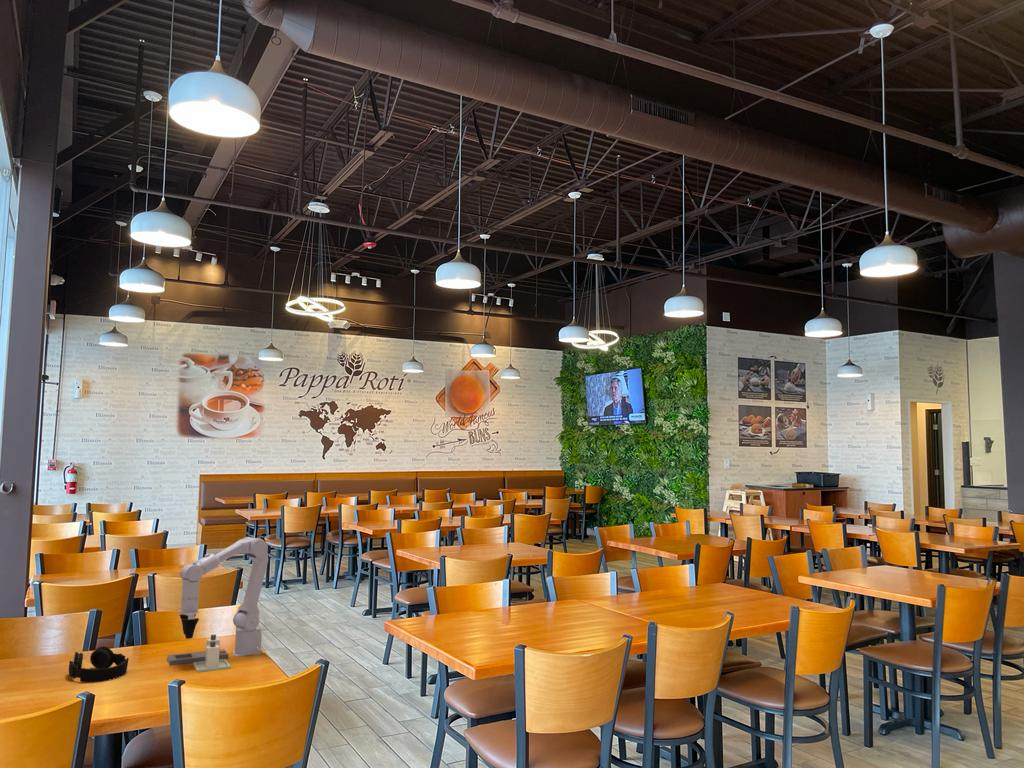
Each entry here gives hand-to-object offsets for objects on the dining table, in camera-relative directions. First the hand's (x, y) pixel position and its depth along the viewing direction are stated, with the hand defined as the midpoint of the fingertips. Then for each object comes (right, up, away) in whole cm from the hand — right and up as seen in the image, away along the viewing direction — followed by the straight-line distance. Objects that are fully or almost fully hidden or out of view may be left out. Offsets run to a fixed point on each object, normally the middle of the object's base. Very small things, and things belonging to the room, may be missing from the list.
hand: (187, 636), depth 271 cm
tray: (+10, -10, -4) cm, 15 cm away
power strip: (+1, -11, +5) cm, 12 cm away
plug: (+10, -9, -4) cm, 15 cm away
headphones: (-25, -9, -15) cm, 30 cm away
